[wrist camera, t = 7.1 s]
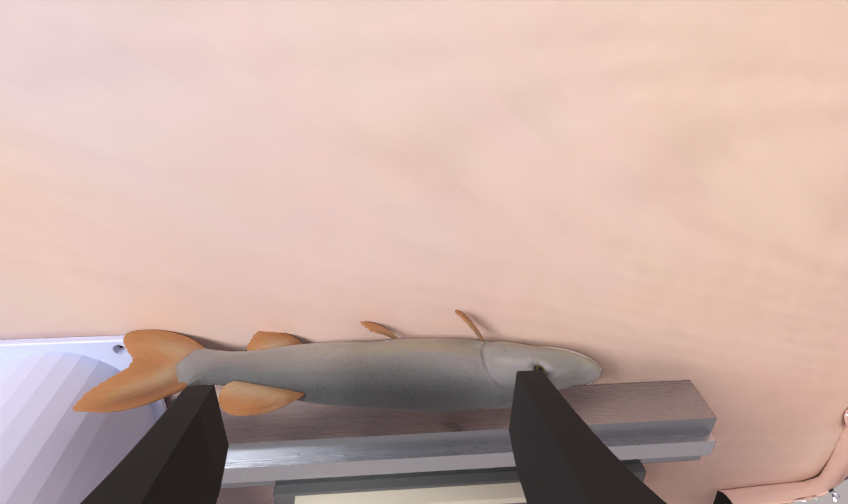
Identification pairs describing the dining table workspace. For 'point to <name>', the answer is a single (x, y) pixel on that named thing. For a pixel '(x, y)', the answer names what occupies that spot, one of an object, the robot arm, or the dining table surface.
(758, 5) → the dining table surface
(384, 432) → the rail
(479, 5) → the dining table surface
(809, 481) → the silver l-shaped piece
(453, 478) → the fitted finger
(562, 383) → the fish
